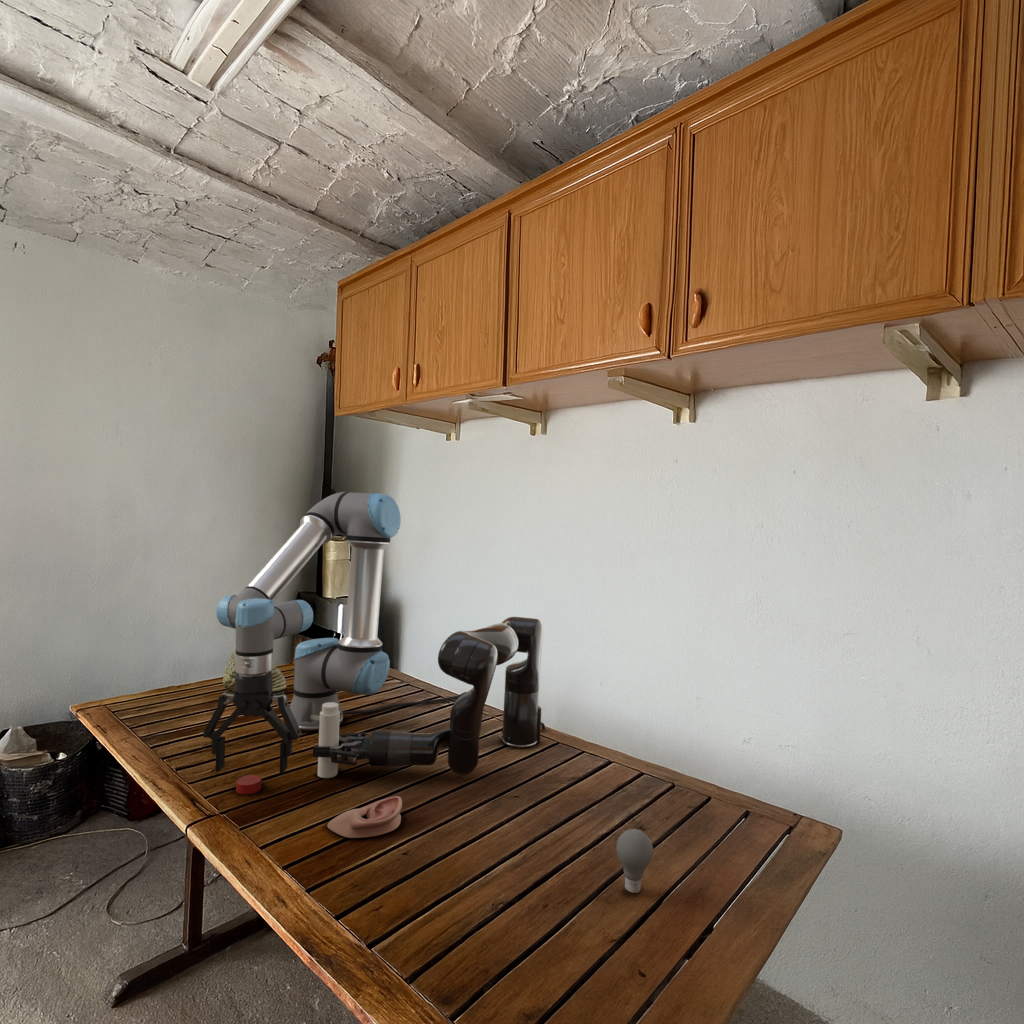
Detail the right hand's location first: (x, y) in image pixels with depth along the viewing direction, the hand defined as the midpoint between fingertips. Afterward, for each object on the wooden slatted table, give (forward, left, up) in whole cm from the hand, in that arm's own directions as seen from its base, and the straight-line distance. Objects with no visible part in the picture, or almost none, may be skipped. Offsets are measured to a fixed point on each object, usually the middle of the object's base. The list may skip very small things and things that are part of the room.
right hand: (316, 747), depth 144 cm
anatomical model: (-4, +27, -6) cm, 28 cm away
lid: (+14, +2, -4) cm, 15 cm away
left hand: (+14, +2, -2) cm, 14 cm away
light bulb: (-38, +65, -6) cm, 76 cm away
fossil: (+6, -64, -6) cm, 65 cm away
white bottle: (-2, +1, -6) cm, 7 cm away
